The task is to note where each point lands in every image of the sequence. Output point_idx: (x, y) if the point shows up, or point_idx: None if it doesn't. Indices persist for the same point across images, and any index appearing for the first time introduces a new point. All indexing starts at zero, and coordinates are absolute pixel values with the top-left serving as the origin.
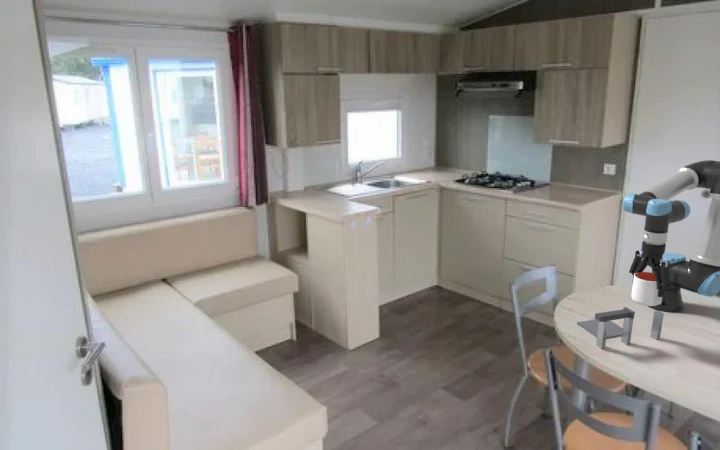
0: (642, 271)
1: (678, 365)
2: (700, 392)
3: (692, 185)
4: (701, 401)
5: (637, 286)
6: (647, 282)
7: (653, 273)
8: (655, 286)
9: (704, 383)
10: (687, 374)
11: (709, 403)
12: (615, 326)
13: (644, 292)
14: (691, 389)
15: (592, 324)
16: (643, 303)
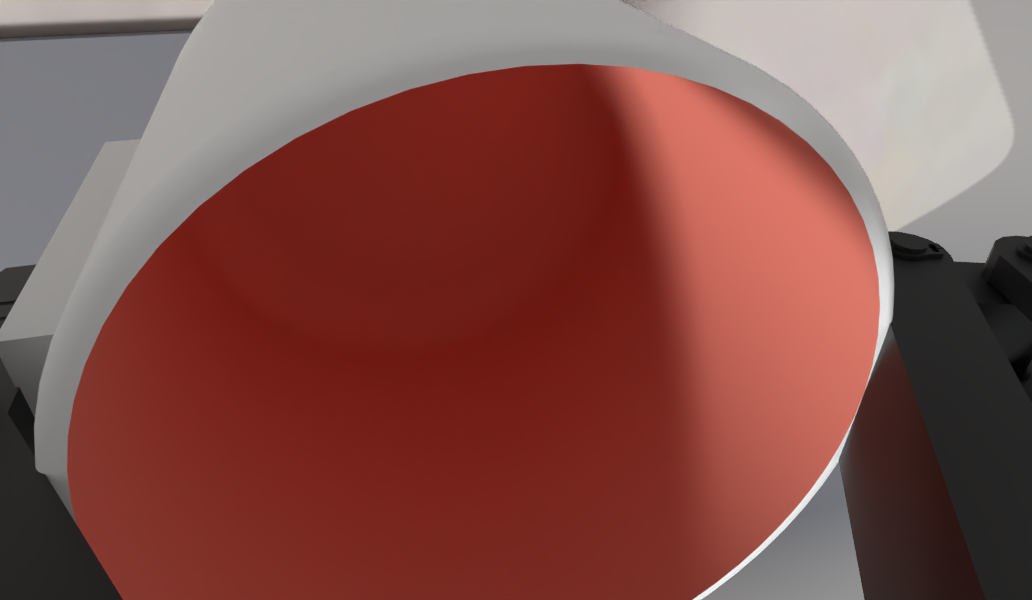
0: (57, 500)
1: (735, 8)
2: (942, 110)
3: None
4: (972, 164)
5: (493, 527)
6: (706, 562)
7: (249, 158)
8: (772, 392)
9: (921, 14)
10: (822, 38)
11: (1001, 139)
12: (60, 83)
13: (594, 418)
14: (905, 136)
15: (14, 264)
16: (536, 301)
